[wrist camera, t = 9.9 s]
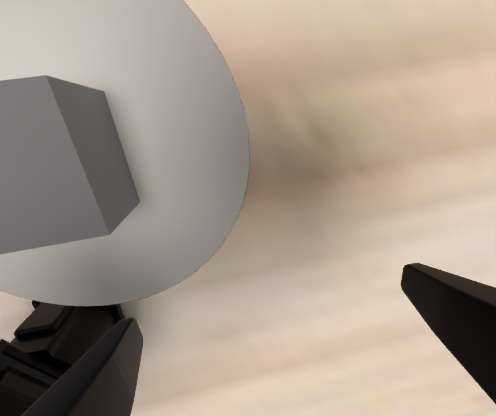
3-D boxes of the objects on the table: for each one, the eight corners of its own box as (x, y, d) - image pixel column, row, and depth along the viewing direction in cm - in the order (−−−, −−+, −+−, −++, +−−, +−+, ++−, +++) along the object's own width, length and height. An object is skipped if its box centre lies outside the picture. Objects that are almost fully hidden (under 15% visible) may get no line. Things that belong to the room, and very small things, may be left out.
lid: (263, 266, 11) (282, 321, 8) (-13, 321, 10) (-113, 408, 7) (216, -96, 6) (217, -286, 3) (-295, -60, 5) (-924, -286, 2)
